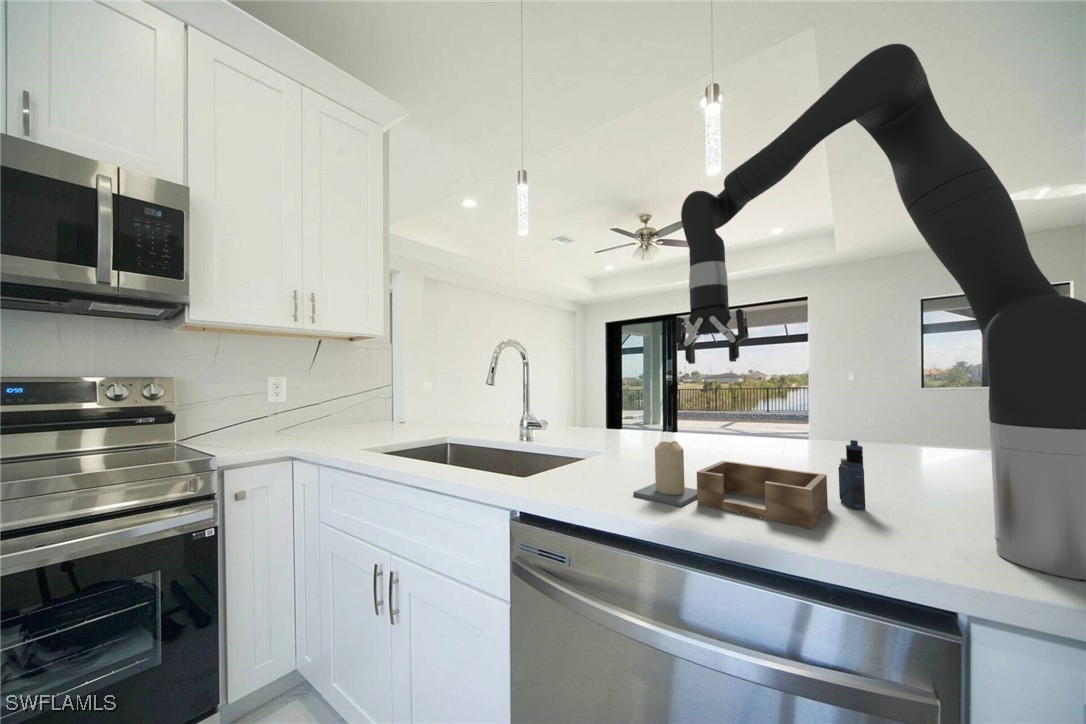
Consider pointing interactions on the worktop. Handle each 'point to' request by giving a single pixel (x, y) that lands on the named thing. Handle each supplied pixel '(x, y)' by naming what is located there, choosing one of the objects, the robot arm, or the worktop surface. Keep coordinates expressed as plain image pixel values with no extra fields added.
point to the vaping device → (852, 477)
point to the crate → (765, 491)
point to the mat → (677, 500)
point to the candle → (669, 468)
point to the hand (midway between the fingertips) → (711, 362)
